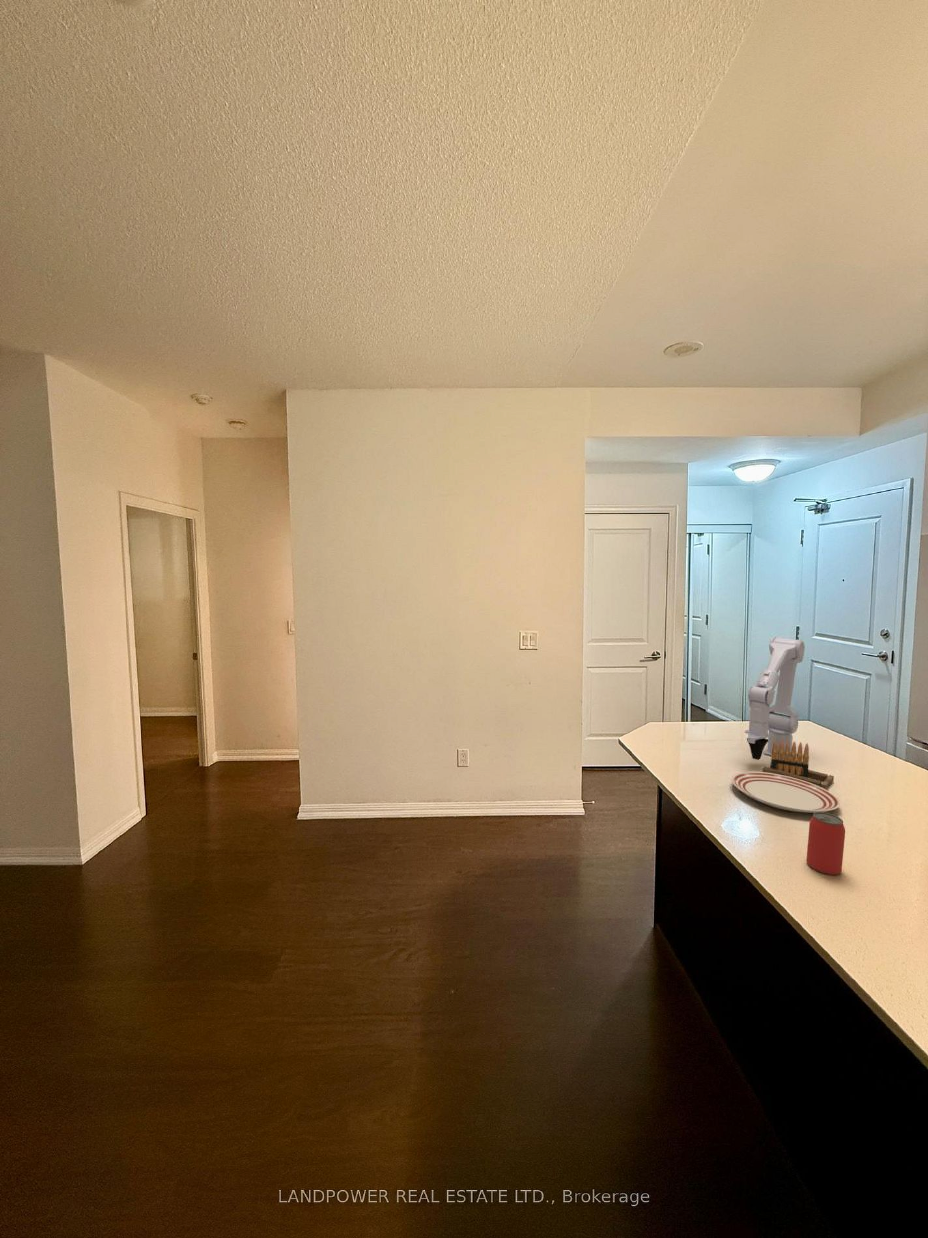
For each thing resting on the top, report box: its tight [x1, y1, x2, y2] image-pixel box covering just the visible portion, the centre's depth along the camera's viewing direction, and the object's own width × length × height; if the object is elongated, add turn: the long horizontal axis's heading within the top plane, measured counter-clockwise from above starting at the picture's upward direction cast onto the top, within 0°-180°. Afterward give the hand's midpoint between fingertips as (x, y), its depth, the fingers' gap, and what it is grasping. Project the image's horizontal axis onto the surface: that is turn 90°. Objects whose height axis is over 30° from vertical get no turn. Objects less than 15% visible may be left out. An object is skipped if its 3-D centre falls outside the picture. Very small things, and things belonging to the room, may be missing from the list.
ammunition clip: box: [769, 739, 810, 778], centre depth 164 cm, size 11×2×12 cm, turn 64°
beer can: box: [805, 812, 846, 876], centre depth 112 cm, size 7×7×12 cm
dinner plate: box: [731, 771, 841, 814], centre depth 148 cm, size 28×27×3 cm
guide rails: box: [761, 761, 835, 791], centre depth 163 cm, size 11×18×2 cm, turn 42°
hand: (756, 758), depth 172 cm, fingers closed
